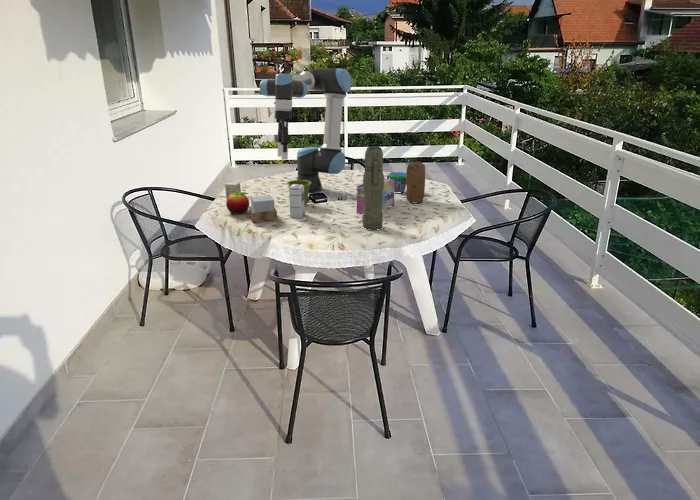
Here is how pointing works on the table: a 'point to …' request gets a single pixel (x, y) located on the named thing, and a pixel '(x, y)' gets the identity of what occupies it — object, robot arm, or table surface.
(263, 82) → the robot arm
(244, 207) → the fruit
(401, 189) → the snack cup
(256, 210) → the top block
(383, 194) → the gum box
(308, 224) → the table surface
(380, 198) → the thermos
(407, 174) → the block
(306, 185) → the plant pot
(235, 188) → the skincare box
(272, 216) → the base block
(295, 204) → the syrup box
